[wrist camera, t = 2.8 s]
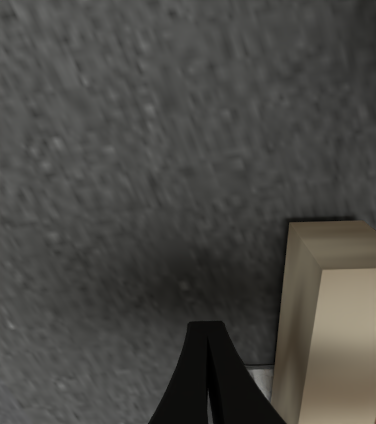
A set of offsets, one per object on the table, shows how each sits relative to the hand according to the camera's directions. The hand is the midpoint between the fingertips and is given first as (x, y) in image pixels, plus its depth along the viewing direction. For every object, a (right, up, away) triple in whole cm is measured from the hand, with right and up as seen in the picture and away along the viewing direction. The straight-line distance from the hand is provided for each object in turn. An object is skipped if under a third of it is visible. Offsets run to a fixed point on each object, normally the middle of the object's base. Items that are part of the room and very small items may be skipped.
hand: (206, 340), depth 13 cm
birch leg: (+5, -1, +3) cm, 6 cm away
